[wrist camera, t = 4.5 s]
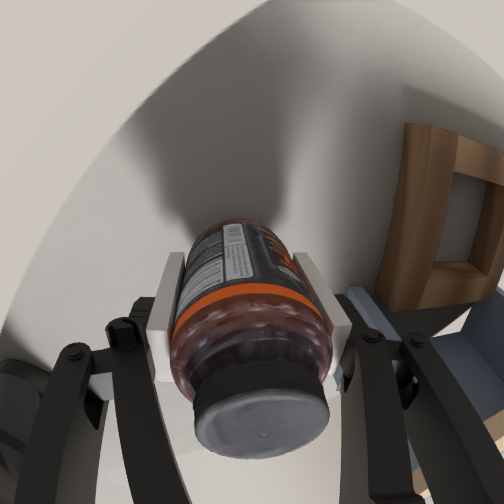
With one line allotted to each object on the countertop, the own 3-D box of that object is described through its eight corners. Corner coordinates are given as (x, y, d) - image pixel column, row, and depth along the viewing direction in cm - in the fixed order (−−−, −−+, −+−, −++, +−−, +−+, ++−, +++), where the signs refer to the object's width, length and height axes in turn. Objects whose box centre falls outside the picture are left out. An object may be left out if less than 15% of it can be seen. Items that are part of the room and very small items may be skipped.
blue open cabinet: (327, 361, 24) (385, 516, 10) (348, 286, 21) (457, 465, 7) (462, 337, 26) (531, 428, 12) (488, 278, 23) (579, 365, 9)
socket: (374, 290, 22) (391, 312, 19) (405, 122, 16) (432, 125, 14) (474, 283, 23) (491, 298, 20) (505, 158, 18) (528, 165, 15)
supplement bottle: (303, 273, 18) (381, 425, 8) (224, 319, 19) (238, 482, 9) (252, 194, 16) (318, 328, 6) (166, 252, 17) (116, 420, 6)
